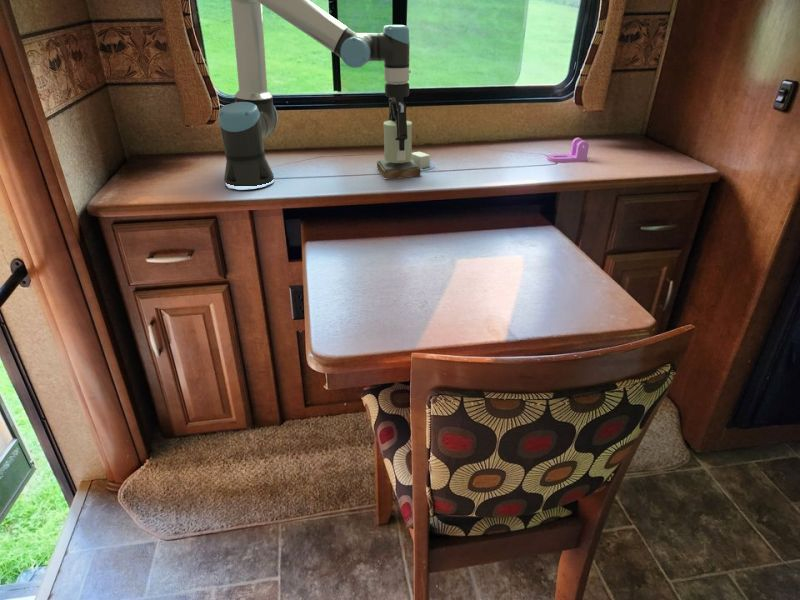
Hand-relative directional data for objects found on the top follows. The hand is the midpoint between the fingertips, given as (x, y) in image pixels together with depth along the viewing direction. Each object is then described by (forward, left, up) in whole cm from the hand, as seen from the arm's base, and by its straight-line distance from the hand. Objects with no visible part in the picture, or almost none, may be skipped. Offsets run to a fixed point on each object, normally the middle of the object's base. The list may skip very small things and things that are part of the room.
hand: (397, 156), depth 170 cm
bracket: (+60, -1, -6) cm, 61 cm away
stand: (0, 0, -5) cm, 5 cm away
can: (0, 0, -1) cm, 1 cm away
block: (+9, +6, -6) cm, 12 cm away
